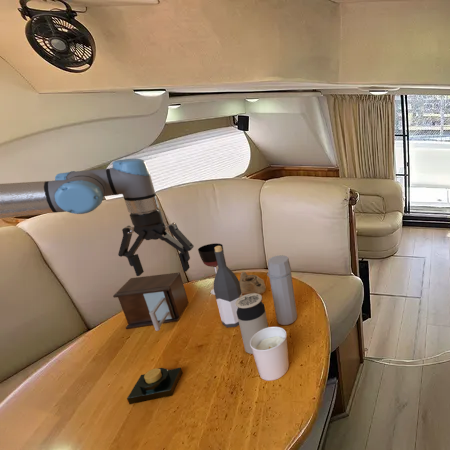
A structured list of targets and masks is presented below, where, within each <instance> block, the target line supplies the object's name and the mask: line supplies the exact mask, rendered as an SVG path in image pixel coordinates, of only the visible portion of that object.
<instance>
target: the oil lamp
mask: <svg viewBox="0 0 450 450" xmlns="http://www.w3.org/2000/svg"><path fill="white" fill-rule="evenodd" d="M239 276H240V277H239V282H240V287H241V292H242V295H246V294H251V293H257V294H260V295H262V294H264V293H265V291H266V289H267V288H266V284H265V280H264V279H263V278H261V277H260V276H258V275H257V274H248V273H247V272H246V271H242V272H241V273H240V275H239Z"/></svg>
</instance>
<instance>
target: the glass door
mask: <svg viewBox="0 0 450 450" xmlns="http://www.w3.org/2000/svg"><path fill="white" fill-rule="evenodd" d="M143 295H144V298H145V300H146V303H147V306H148V309H149V314H150V316H151V319H152V322H153V325H152V326H153V328H154V329H155V331H156V332H158V331H160V330H161V327H162V326H163V322H164V321H165V320H166V319H173V318H175V316H174V313H173V310H172V306H171V303H170V300H169V297H168V294H167V291H162V292H154V293H146V294H143ZM160 320H161V321H160ZM158 321H160V322H159V323H158Z"/></svg>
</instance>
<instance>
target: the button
mask: <svg viewBox="0 0 450 450" xmlns="http://www.w3.org/2000/svg"><path fill="white" fill-rule="evenodd" d="M158 368H159V367H158ZM158 368H157V367H156V368H152V369H149V370H148V371H147V372H146V373H144V374H145V375H144V379H145V381H146V383H148V384H149V383H153V382H156V381H158V380H159V379H160V378H161V377H162V374H161V371H160V369H158Z"/></svg>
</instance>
